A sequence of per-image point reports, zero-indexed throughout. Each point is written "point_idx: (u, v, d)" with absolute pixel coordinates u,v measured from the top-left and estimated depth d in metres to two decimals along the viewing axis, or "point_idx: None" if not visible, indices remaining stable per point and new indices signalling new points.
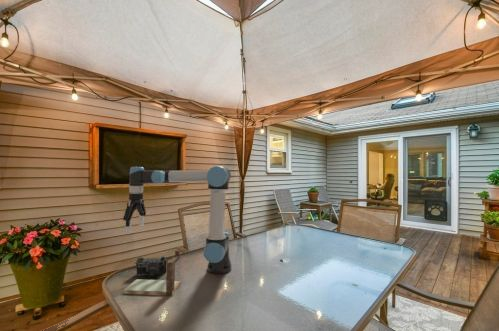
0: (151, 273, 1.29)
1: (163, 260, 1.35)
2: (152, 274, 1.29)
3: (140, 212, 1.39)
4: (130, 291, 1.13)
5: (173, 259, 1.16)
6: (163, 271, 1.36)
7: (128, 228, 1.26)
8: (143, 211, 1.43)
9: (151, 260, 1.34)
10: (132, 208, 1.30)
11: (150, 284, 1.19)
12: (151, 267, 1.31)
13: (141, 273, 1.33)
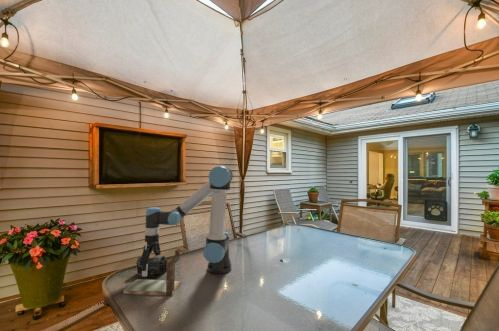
0: (151, 272, 1.30)
1: (163, 260, 1.36)
2: (152, 273, 1.30)
3: (155, 252, 1.38)
4: (130, 291, 1.13)
5: (173, 259, 1.16)
6: (163, 271, 1.37)
7: (144, 272, 1.25)
8: None
9: (151, 260, 1.35)
10: (148, 251, 1.29)
11: (150, 284, 1.19)
12: (151, 266, 1.32)
13: None
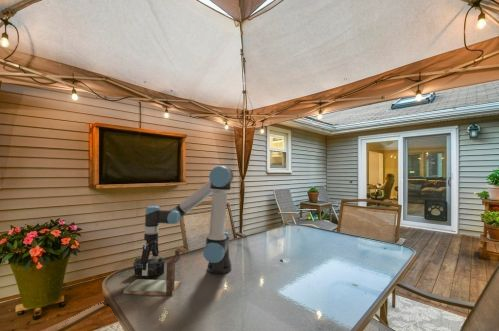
0: (148, 274, 1.29)
1: (160, 261, 1.34)
2: (149, 275, 1.29)
3: (153, 252, 1.37)
4: (130, 291, 1.13)
5: (173, 259, 1.16)
6: (161, 272, 1.35)
7: (145, 271, 1.27)
8: None
9: (149, 261, 1.34)
10: (148, 250, 1.29)
11: (150, 284, 1.19)
12: (148, 268, 1.30)
13: (139, 274, 1.33)
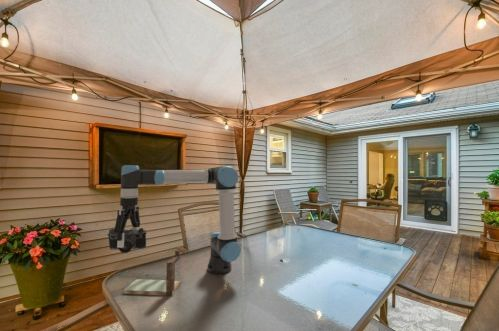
0: (124, 246, 1.05)
1: (141, 232, 1.10)
2: (126, 248, 1.05)
3: (133, 222, 1.14)
4: (130, 291, 1.13)
5: (173, 259, 1.16)
6: (141, 246, 1.11)
7: (120, 243, 1.03)
8: (137, 221, 1.17)
9: (127, 231, 1.10)
10: (124, 217, 1.06)
11: (150, 284, 1.19)
12: (125, 239, 1.07)
13: (114, 247, 1.09)
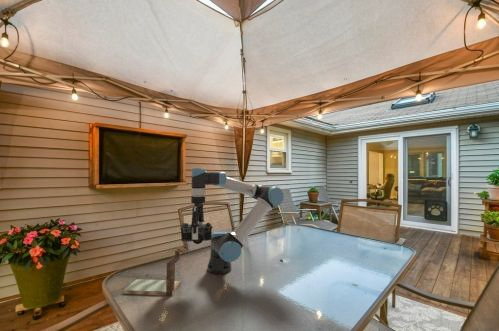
0: None
1: (208, 226, 1.26)
2: (198, 239, 1.21)
3: (200, 218, 1.29)
4: (130, 291, 1.13)
5: (173, 259, 1.16)
6: (208, 238, 1.27)
7: (195, 235, 1.19)
8: None
9: None
10: None
11: (150, 284, 1.19)
12: None
13: (186, 239, 1.25)
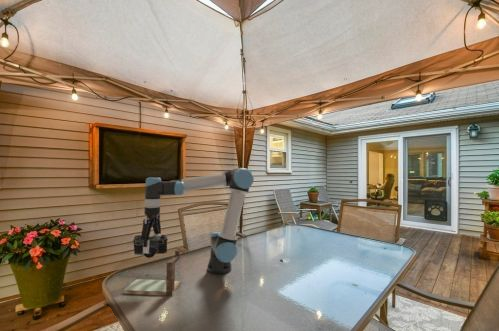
0: (149, 252, 1.15)
1: (163, 238, 1.20)
2: (150, 253, 1.15)
3: (155, 229, 1.24)
4: (130, 291, 1.13)
5: (173, 259, 1.16)
6: (163, 251, 1.21)
7: (146, 249, 1.13)
8: None
9: (150, 238, 1.20)
10: (149, 225, 1.16)
11: (150, 284, 1.19)
12: (149, 245, 1.17)
13: (139, 252, 1.19)
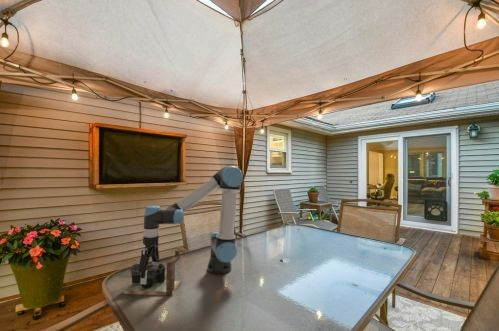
0: (146, 282, 1.14)
1: (161, 268, 1.20)
2: (148, 283, 1.15)
3: (153, 258, 1.23)
4: (130, 291, 1.13)
5: (173, 259, 1.16)
6: (161, 280, 1.20)
7: (143, 280, 1.12)
8: None
9: (147, 267, 1.19)
10: (147, 255, 1.15)
11: None
12: (147, 275, 1.16)
13: (136, 281, 1.18)
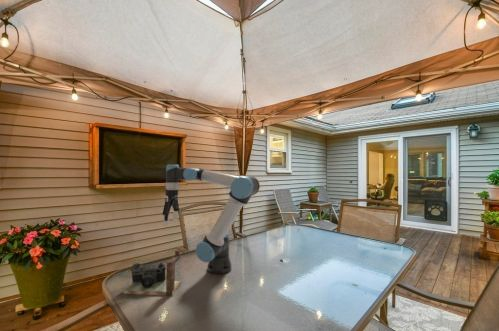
0: (147, 282, 1.15)
1: (161, 267, 1.20)
2: (148, 283, 1.15)
3: (174, 208, 1.47)
4: (130, 291, 1.13)
5: (173, 259, 1.16)
6: (161, 279, 1.21)
7: (166, 222, 1.34)
8: (176, 207, 1.51)
9: (148, 267, 1.20)
10: (169, 203, 1.38)
11: None
12: (147, 275, 1.17)
13: (137, 281, 1.19)
